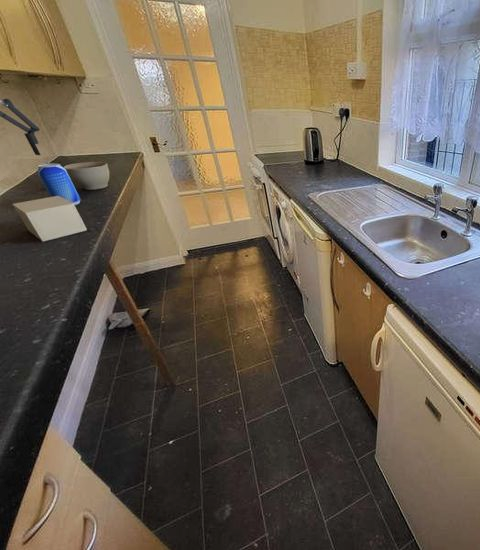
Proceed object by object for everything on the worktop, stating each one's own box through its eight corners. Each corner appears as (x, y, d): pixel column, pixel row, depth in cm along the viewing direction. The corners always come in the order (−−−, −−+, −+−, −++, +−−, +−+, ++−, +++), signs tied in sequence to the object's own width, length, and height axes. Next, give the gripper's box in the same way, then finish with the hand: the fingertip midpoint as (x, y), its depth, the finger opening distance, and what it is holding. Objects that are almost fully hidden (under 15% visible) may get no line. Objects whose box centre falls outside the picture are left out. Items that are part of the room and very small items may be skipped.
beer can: (57, 208, 120) (34, 168, 112) (54, 204, 125) (32, 165, 117) (83, 204, 126) (64, 165, 117) (80, 200, 130) (61, 162, 122)
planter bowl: (72, 193, 138) (60, 169, 133) (78, 186, 150) (67, 163, 144) (114, 189, 146) (104, 166, 140) (117, 182, 157) (108, 160, 152)
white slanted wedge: (29, 231, 101) (12, 203, 96) (71, 221, 109) (58, 195, 104) (42, 241, 94) (25, 213, 89) (87, 230, 103) (73, 203, 98)
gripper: (21, 81, 95) (56, 151, 106) (-112, 76, 77) (-53, 161, 88) (28, 81, 92) (63, 153, 103) (-110, 76, 74) (-49, 165, 85)
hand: (9, 157), depth 95 cm, fingers open, 13 cm apart
